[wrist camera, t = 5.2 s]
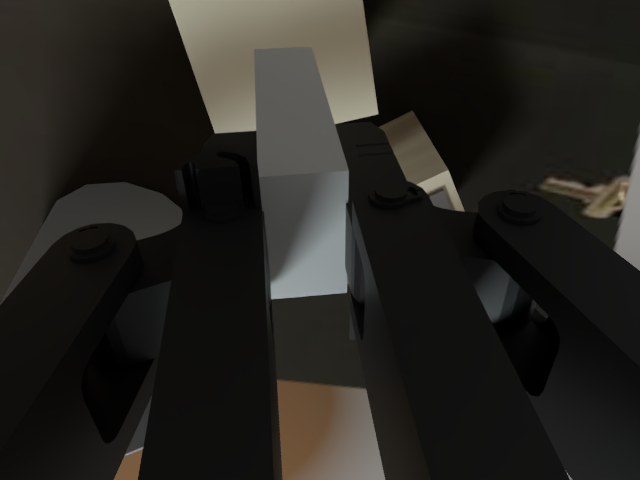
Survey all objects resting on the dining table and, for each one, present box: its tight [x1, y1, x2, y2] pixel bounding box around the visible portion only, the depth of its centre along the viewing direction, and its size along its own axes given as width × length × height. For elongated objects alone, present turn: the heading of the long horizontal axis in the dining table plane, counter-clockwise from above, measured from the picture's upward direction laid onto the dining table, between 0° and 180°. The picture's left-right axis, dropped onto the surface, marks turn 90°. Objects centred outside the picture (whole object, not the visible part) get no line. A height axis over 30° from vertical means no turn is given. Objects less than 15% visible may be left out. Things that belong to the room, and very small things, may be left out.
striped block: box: [347, 111, 465, 284], centre depth 26 cm, size 6×6×6 cm
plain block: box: [169, 0, 378, 133], centre depth 20 cm, size 6×6×6 cm
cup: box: [0, 182, 183, 456], centre depth 25 cm, size 8×8×10 cm
